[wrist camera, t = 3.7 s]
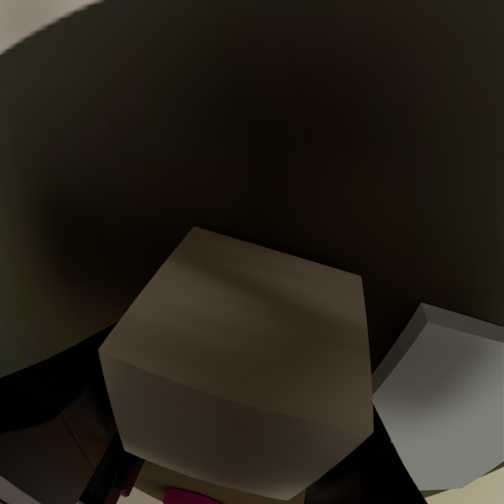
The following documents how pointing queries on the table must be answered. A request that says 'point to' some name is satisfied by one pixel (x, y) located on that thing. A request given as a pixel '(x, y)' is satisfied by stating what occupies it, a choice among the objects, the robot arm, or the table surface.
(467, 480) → the sage plate
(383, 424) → the robot arm
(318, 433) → the birch cube
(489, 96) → the table surface
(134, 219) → the table surface
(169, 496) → the pepper mill
